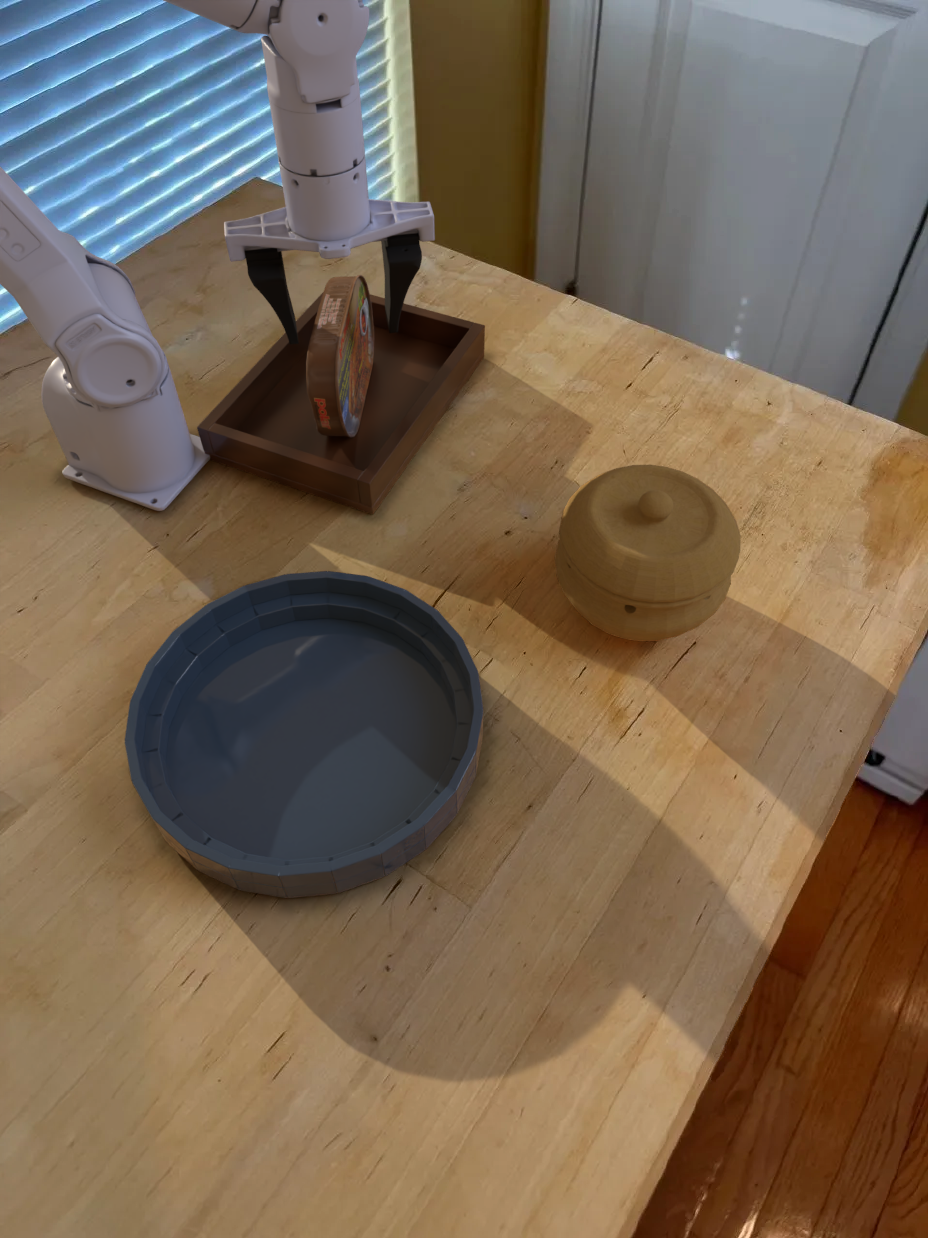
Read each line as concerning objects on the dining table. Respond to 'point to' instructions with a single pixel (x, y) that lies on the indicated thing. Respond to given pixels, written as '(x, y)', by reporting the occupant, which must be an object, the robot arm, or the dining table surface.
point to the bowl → (306, 733)
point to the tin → (341, 356)
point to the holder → (391, 419)
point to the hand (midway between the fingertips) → (343, 330)
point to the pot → (646, 552)
